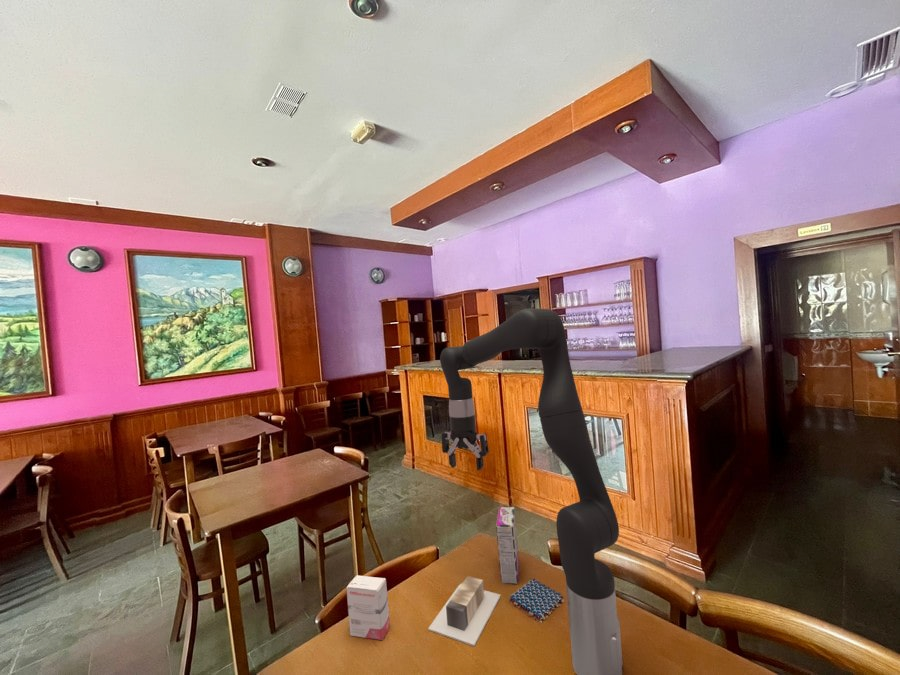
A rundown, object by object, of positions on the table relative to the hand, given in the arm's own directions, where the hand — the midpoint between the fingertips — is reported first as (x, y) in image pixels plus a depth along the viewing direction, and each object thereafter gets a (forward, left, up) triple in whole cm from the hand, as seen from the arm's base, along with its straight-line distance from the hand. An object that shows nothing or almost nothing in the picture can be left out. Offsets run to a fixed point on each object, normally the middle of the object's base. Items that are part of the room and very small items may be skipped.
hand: (466, 468), depth 108 cm
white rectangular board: (-5, +16, -30) cm, 34 cm away
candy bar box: (-10, -3, -30) cm, 32 cm away
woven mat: (-20, +6, -31) cm, 37 cm away
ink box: (+14, +30, -30) cm, 45 cm away
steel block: (-5, +10, -27) cm, 30 cm away
